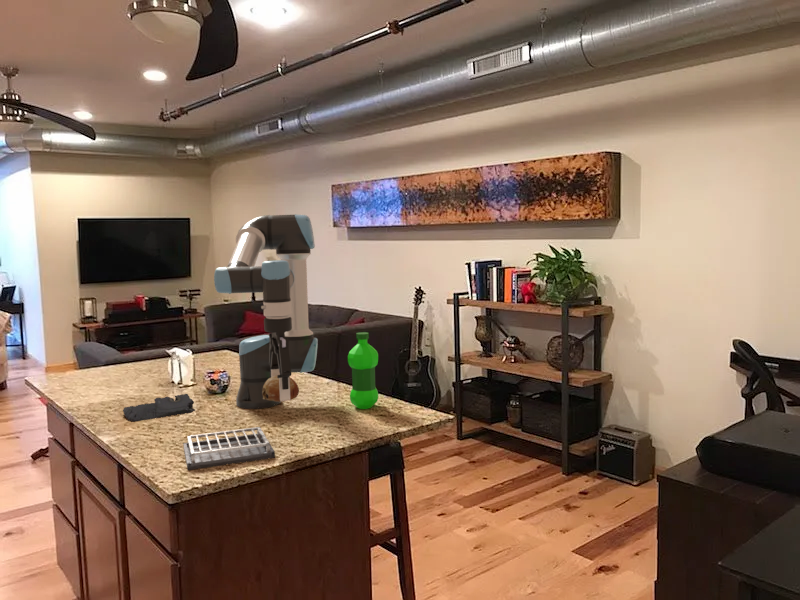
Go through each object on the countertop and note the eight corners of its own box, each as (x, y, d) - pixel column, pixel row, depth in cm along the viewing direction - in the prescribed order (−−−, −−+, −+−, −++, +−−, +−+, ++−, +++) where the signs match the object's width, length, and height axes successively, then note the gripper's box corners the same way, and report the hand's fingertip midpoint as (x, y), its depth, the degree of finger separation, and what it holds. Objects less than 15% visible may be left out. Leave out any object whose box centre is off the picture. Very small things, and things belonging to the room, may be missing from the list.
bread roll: (261, 409, 187) (249, 386, 184) (286, 387, 194) (276, 364, 190) (283, 415, 181) (271, 391, 177) (309, 392, 187) (298, 369, 184)
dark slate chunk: (119, 413, 224) (119, 400, 224) (186, 403, 236) (185, 390, 235) (129, 424, 211) (128, 409, 211) (198, 413, 223) (198, 399, 223)
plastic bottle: (379, 402, 230) (377, 330, 227) (379, 410, 219) (377, 335, 217) (350, 403, 229) (348, 331, 227) (348, 411, 219) (346, 336, 216)
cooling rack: (183, 448, 185) (182, 435, 184) (263, 438, 193) (263, 425, 192) (187, 470, 168) (186, 455, 168) (275, 457, 176) (274, 443, 176)
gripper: (256, 313, 192) (259, 388, 195) (272, 323, 171) (275, 407, 174) (282, 311, 195) (285, 385, 198) (300, 320, 174) (304, 404, 177)
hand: (280, 396), depth 186 cm, fingers closed on bread roll, 10 cm apart
